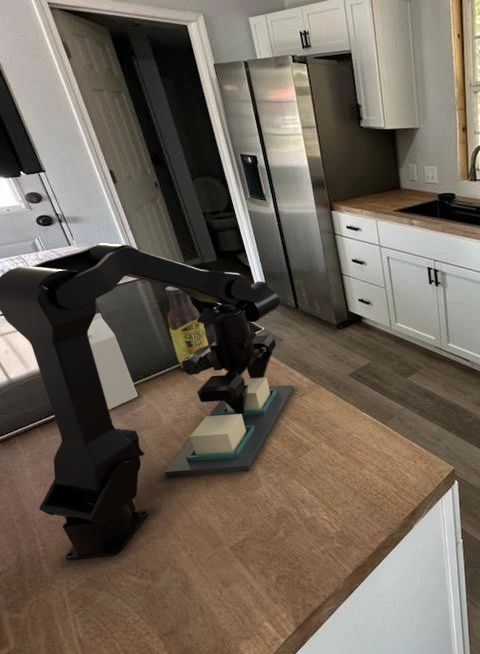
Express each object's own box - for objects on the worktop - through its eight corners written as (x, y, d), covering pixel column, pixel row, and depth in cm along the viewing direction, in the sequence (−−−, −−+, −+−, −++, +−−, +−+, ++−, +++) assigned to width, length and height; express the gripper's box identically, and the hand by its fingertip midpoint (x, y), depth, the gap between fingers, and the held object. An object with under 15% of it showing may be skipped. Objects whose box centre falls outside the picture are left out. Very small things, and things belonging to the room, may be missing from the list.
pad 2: (260, 411, 82) (256, 392, 81) (228, 413, 81) (223, 394, 80) (270, 395, 87) (266, 377, 85) (240, 397, 86) (235, 379, 84)
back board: (249, 470, 70) (246, 461, 70) (165, 477, 69) (162, 468, 68) (294, 389, 91) (292, 382, 90) (230, 393, 89) (228, 385, 88)
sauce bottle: (195, 372, 95) (172, 294, 88) (173, 368, 97) (148, 291, 89) (219, 357, 101) (199, 283, 94) (198, 353, 103) (176, 280, 95)
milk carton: (79, 405, 84) (42, 323, 77) (122, 386, 90) (92, 309, 83) (94, 417, 81) (58, 333, 74) (138, 396, 87) (108, 317, 80)
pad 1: (233, 453, 72) (227, 433, 70) (196, 456, 71) (189, 436, 70) (246, 432, 77) (241, 413, 75) (211, 435, 76) (205, 416, 74)
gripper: (212, 313, 86) (229, 375, 91) (152, 364, 68) (178, 437, 74) (269, 310, 87) (283, 372, 93) (225, 360, 70) (244, 432, 76)
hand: (249, 400), depth 84 cm, fingers open, 7 cm apart
